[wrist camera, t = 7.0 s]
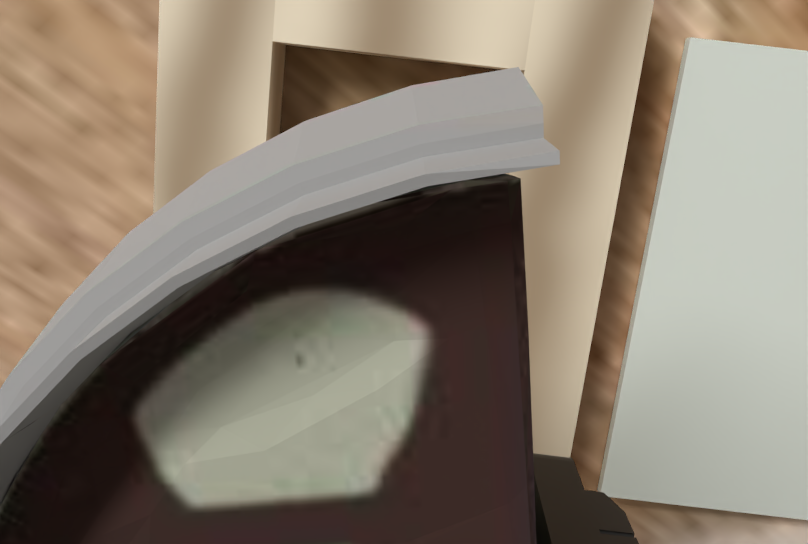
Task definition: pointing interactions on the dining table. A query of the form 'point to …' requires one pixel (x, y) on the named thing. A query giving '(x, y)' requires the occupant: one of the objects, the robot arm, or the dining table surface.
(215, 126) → the frame
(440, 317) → the patterned half cylinder
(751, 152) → the mat
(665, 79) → the dining table surface
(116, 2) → the dining table surface
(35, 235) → the dining table surface
